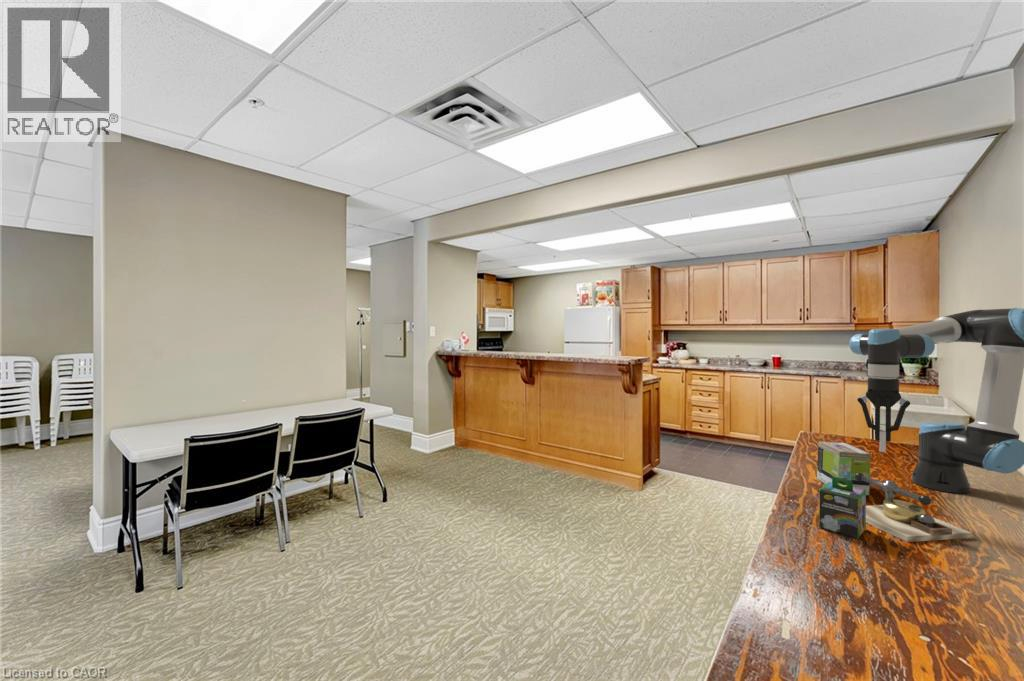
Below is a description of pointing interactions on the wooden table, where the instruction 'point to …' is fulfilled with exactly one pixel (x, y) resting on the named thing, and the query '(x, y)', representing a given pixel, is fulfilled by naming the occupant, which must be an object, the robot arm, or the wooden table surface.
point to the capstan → (896, 507)
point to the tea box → (843, 463)
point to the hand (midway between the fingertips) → (882, 450)
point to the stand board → (913, 527)
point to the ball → (926, 520)
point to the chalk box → (842, 508)
